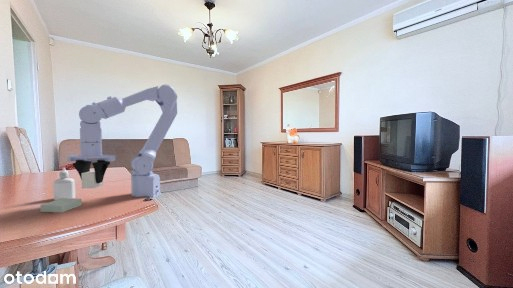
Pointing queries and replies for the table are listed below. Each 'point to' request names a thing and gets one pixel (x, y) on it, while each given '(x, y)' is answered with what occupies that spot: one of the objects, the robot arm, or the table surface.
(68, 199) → the sage slab
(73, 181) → the eye dropper bottle
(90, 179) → the cream block
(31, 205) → the table surface
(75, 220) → the table surface
